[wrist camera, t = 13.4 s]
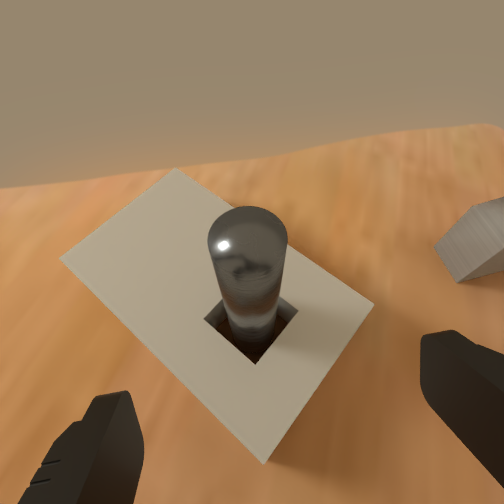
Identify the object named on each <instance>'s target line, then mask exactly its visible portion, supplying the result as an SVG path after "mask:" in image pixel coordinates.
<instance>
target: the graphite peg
mask: <svg viewBox="0 0 504 504" xmlns="http://www.w3.org/2000/svg"><path fill="white" fill-rule="evenodd" d="M287 242H288V238H287V232H286V229H285V226H284V225H283V223H282V222H281V220H280V219H279V218H278V217H277V216H276V215H274V214H273V213H271V212H270V211H268V210H265V209H263V208H259V207H254V206H243V207H237V208H234V209H231V210H229V211H227V212H225V213H223V214H222V215H221V216H219V217H218V218H217V219H216V220H215V221H214V223H213V224H212V226H211V228H210V230H209V233H208V239H207V243H208V249H209V253H210V256H211V260H212V263H213V267H214V270H215V274H216V278H217V281H218V285H219V288H220V292H221V296H222V299H223V303H224V306H225V310H226V313H227V317H228V321H229V324H230V328H231V331H232V335H233V338H234V341H235V343H236V345H237V346H238V347H239V348H240V349H241V350H243V351H245V352H248V353H258V352H261V351H263V350H265V349H266V348H267V347H268V346H269V345H270V343H271V341H272V339H273V334H274V327H275V321H276V314H277V308H278V301H279V295H280V288H281V282H282V275H283V269H284V262H285V256H286V249H287Z"/></svg>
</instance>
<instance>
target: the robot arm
mask: <svg viewBox="0 0 504 504" xmlns="http://www.w3.org/2000/svg"><path fill="white" fill-rule="evenodd" d="M420 385H421V389H422V392H423V395H424V397H425V399H426V401H427V403H428V404H429V405H430V407H431V408H432V409H433V410H434V411H435V412H436V413H437V415H438V416H439V417H440V418H441V419H442V420H443V421H444V422H445V423H446V425H447V426H448V427H449V428H450V429H451V430H452V431H453V432H454V433H455V435H456V436H457V437H458V438H459V439H460V440H461V441H462V442H463V444H464V445H465V446H466V447H467V448H468V449H469V450H470V451H471V452H472V454H473V455H474V456H475V457H476V458H477V459H478V460H479V461H480V462H481V464H482V465H483V466H484V467H485V468H486V469H487V470H488V471H489V473H490V474H491V475H492V476H493V477H494V478H495V479H496V480H497V481H498V483H499V484H500V485H501V486H502V487H503V488H504V355H503V354H501V353H499V352H496V351H494V350H491V349H489V348H486V347H484V346H481V345H479V344H478V345H476V344H475V343H473V342H472V341H470V340H469V339H467V338H466V337H464V336H463V335H461V334H460V333H458V332H457V331H455V330H447V331H442V332H436V333H431V334H426V335H423V337H422V338H421V349H420ZM143 460H144V441H143V436H142V432H141V429H140V425H139V422H138V418H137V415H136V412H135V408H134V405H133V401H132V398H131V395H130V393H129V392H128V391H120V392H115V393H110V394H104V395H99V396H96V397H95V398H94V399H93V400H92V402H91V404H90V406H89V408H88V409H87V411H86V413H85V415H84V417H83V419H82V421H77V422H73V423H72V424H71V425H70V426H69V427H68V428H67V429H66V430H65V431H64V432H63V433H62V434H61V435H60V436H59V437H58V438H57V439H56V440H55V441H54V443H53V445H52V446H51V448H50V450H49V451H48V453H47V455H46V456H45V458H44V460H43V462H42V463H41V464H42V466H41V468H38V470H37V472H36V473H35V475H34V477H33V479H32V480H31V482H30V487H29V488H27V489H26V490H25V492H24V494H23V495H22V497H21V499H20V501H19V502H18V504H133V503H134V499H135V495H136V490H137V486H138V482H139V478H140V474H141V470H142V466H143Z"/></svg>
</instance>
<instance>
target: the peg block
mask: <svg viewBox="0 0 504 504" xmlns="http://www.w3.org/2000/svg"><path fill="white" fill-rule="evenodd" d="M231 209H234V207H232V206H231V205H229V204H228V203H227V202H225V201H224V200H222V199H221V198H219V197H218V196H216V195H215V194H213V193H212V192H211V191H209V190H208V189H206V188H205V187H203V186H202V185H200V184H199V183H197V182H196V181H195V180H193V179H192V178H190V177H189V176H187V175H186V174H184V173H183V172H181V171H180V170H179V169H177V168H174V169H173V170H172V171H170V172H169V173H168V174H167V175H165V176H164V177H163V178H161V179H160V180H159V181H158V182H156V183H155V184H154V185H152V186H151V187H150V188H149V189H147V190H146V191H145V192H143V193H142V194H141V195H140V196H138V197H137V198H136V199H134V200H133V201H132V202H131V203H129V204H128V205H127V206H125V207H124V208H123V209H122V210H120V211H119V212H118V213H116V214H115V215H114V216H113V217H111V218H110V219H109V220H107V221H106V222H105V223H104V224H102V225H101V226H100V227H98V228H97V229H96V230H95V231H93V232H92V233H91V234H89V235H88V236H87V237H86V238H84V239H83V240H82V241H80V242H79V243H78V244H77V245H75V246H74V247H73V248H71V249H70V250H69V251H68V252H66V253H65V254H64V255H62V256H61V257H60V258H59V259H60V260H61V261H62V262H63V263H64V264H65V265H66V266H67V267H68V268H69V269H70V270H71V271H72V272H73V273H74V274H75V275H76V276H77V277H78V278H79V279H80V280H81V281H82V282H83V283H84V284H85V285H86V286H87V287H88V288H89V289H90V290H91V291H92V292H93V293H94V294H95V295H96V296H97V297H98V298H99V299H100V300H101V301H102V302H103V303H104V304H105V306H106V307H107V308H108V309H109V310H110V311H111V312H112V313H113V314H114V315H115V316H116V317H117V318H118V319H119V320H120V321H121V322H122V323H123V324H124V325H125V326H126V327H127V328H128V329H129V330H130V331H131V332H132V333H133V334H134V335H135V336H136V337H137V338H138V339H139V340H140V341H141V342H142V343H143V344H144V345H145V346H146V347H147V348H148V349H149V350H150V351H151V352H152V353H153V354H154V355H155V356H156V357H157V358H158V359H159V360H160V361H161V362H162V363H163V364H164V365H165V366H166V367H167V368H168V369H169V370H170V371H171V372H172V373H173V374H174V375H175V376H176V377H177V378H178V379H179V380H180V381H181V382H182V383H183V384H184V385H185V386H186V387H187V388H188V389H189V390H190V391H191V392H192V393H193V394H194V395H195V396H196V397H197V398H198V399H199V400H200V401H201V402H202V403H203V404H204V405H205V406H206V407H207V408H208V409H209V410H210V411H211V413H212V414H213V415H214V416H215V417H216V418H217V419H218V420H219V421H220V422H221V423H222V424H223V425H224V426H225V427H226V428H227V429H228V430H229V431H230V432H231V433H232V434H233V435H234V436H235V437H236V438H237V439H238V440H239V441H240V442H241V443H242V444H243V445H244V446H245V447H246V448H247V449H248V450H249V451H250V452H251V453H252V454H253V455H254V456H255V457H256V458H257V459H258V460H259V461H260V462H261V463H262V464H263V465H264V464H265V462H266V461H267V459H268V458H269V457H270V455H271V454H272V452H273V451H274V449H275V448H276V446H277V445H278V444H279V442H280V441H281V439H282V438H283V436H284V435H285V433H286V432H287V431H288V429H289V428H290V426H291V425H292V423H293V422H294V420H295V419H296V418H297V416H298V415H299V413H300V412H301V410H302V409H303V407H304V406H305V405H306V403H307V402H308V400H309V399H310V397H311V396H312V394H313V393H314V392H315V390H316V389H317V387H318V386H319V384H320V383H321V381H322V380H323V379H324V377H325V376H326V374H327V373H328V371H329V370H330V368H331V367H332V366H333V364H334V363H335V361H336V360H337V358H338V357H339V355H340V354H341V352H342V351H343V350H344V348H345V347H346V345H347V344H348V342H349V341H350V339H351V338H352V337H353V335H354V334H355V332H356V331H357V329H358V328H359V326H360V325H361V324H362V322H363V321H364V319H365V318H366V316H367V315H368V313H369V312H370V311H371V309H372V308H373V306H374V305H375V304H374V303H372V302H371V301H369V300H368V299H366V298H365V297H363V296H362V295H360V294H359V293H358V292H356V291H355V290H353V289H352V288H350V287H349V286H347V285H346V284H344V283H343V282H342V281H340V280H339V279H337V278H336V277H334V276H333V275H331V274H330V273H328V272H327V271H326V270H324V269H323V268H321V267H320V266H318V265H317V264H315V263H314V262H312V261H311V260H310V259H308V258H307V257H305V256H304V255H302V254H301V253H299V252H298V251H296V250H295V249H294V248H292V247H291V246H289V245H288V244H287V249H286V256H285V262H284V269H283V275H282V282H281V288H280V295H279V301H278V308H277V315H278V316H280V317H281V318H282V319H283V320H285V321H286V322H287V323H288V325H287V326H286V327H285V329H284V330H283V331H282V332H281V334H280V335H279V336H278V337H277V339H276V340H275V341H274V342H273V344H272V345H271V346H270V347H269V349H268V350H267V351H266V352H265V354H264V355H263V356H262V357H261V359H260V360H259V361H258V362H257V363H256V365H255V364H254V363H253V362H251V361H250V360H249V359H248V358H247V357H246V356H245V355H244V354H242V353H241V352H240V351H239V350H238V349H237V348H236V347H234V346H233V345H232V344H231V343H230V342H229V341H228V340H227V339H225V338H224V337H223V336H222V335H221V334H220V333H219V332H218V331H216V330H215V329H216V328H217V327H218V326H219V325H220V324H221V323H222V322H223V321H224V320H225V318H226V317H227V313H226V310H225V306H224V303H223V299H222V296H221V292H220V288H219V285H218V281H217V278H216V274H215V270H214V267H213V263H212V260H211V256H210V253H209V249H208V243H207V239H208V233H209V230H210V228H211V226H212V224H213V223H214V221H215V220H216V219H217V218H218V217H219V216H221V215H222V214H223V213H225V212H227V211H229V210H231Z"/></svg>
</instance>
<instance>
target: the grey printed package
mask: <svg viewBox="0 0 504 504" xmlns="http://www.w3.org/2000/svg"><path fill="white" fill-rule="evenodd" d="M434 248H435V250H436V252H437V253H438V255H439V256H440V258H441V259H442V261H443V263H444V264H445V266H446V267H447V269H448V270H449V272H450V274H451V275H452V277H453V278H454V280H455V281H456V283H459V282H463V281H466V280H470V279H474V278H477V277H481V276H485V275H489V274H492V273H496V272H500V271H504V197H501V198H498V199H495V200H491V201H488V202H485V203H481V204H478V205H474V206H472V207H471V208H470V209H469V210H468V211H467V212H466V213H465V214H464V215H463V216H462V217H461V218H460V219H459V220H458V221H457V223H456V224H455V225H454V226H453V227H452V228H451V229H450V230H449V231H448V232H447V233H446V234H445V235H444V236H443V237H442V238H441V239H440V240H439V241H438V242H437V243H436V245H435V246H434Z"/></svg>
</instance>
